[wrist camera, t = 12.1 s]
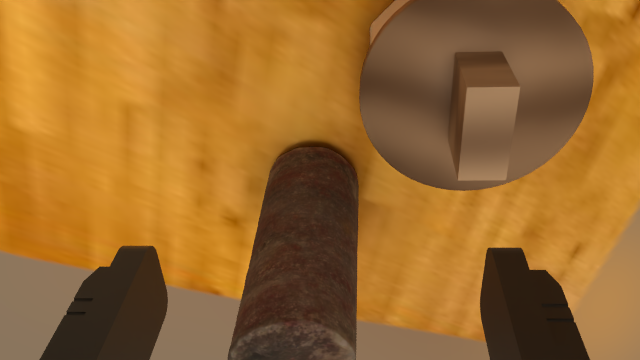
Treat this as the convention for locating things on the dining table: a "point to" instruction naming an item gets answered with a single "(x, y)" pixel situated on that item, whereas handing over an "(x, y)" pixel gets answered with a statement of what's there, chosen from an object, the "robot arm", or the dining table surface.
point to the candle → (302, 263)
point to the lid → (474, 89)
